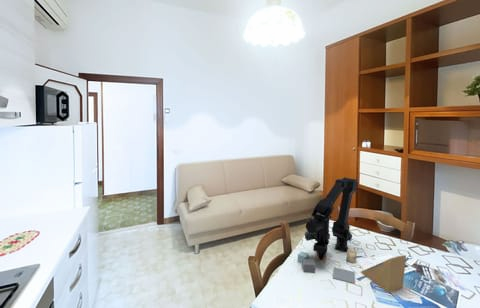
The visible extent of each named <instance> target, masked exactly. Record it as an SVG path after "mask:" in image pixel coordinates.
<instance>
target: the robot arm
mask: <svg viewBox="0 0 480 308" xmlns="http://www.w3.org/2000/svg"><path fill="white" fill-rule="evenodd" d="M358 187H359V181H358V180H357V179H356V178H352V177H343V178H337V179H336V180H335V182H334V184H333V186H332V187H331V189H330V190H329V192H328V193H327V195H326V196H325V197H324V198H321V199H320V200H319V201H318V202H317V203H316V204H315V206H314V209H313V210H312V211H313V212H312V213H311V218H309V221H307V222H306V224H305V229H306V231H305V233H304V239H305V240H306V241H313V240H314V241H315V242H314V244H313V247H312V250H313V252H316V251H317V252H318V255H319V259H320V260H322V259H323V257H324V255H325V253H326V254H327V253H328V248H329V247H328V246H329V243H330V238H331V233H330V220H331V219H332V218H333V217H332V216H331V215H332V214H333V212H334V210H335V208H334V205H335V203H336V202H337V200H338V198H339V196H340V195H341V194H342V195H341V201H340V205H339V212H338V217H337V219H336V220H335V221H333V223H332V227H331V231H332V237H335V238H336V242H335V246H334V250H336V251H341V252H343V251H344V252H347V250H349V245H348V242H349V241H350V242H351V240H352V238H353V234H352V232H350V224H349V222H348V221H349V213H350V208H351V203H352V198H353V195H354V194H355V193H356V192H357V189H358Z"/></svg>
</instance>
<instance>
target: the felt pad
mask: <svg viewBox="0 0 480 308" xmlns="http://www.w3.org/2000/svg"><path fill="white" fill-rule="evenodd" d="M332 272H333V273H332V279H333V280H337V281H341V282H346V283H349V284H353V285H356V276H355V275H356V272H355V271H352V270H348V269H344V268H343V269H342V268H339V267H333V271H332Z"/></svg>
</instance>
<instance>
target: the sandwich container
mask: <svg viewBox="0 0 480 308" xmlns="http://www.w3.org/2000/svg"><path fill="white" fill-rule="evenodd" d="M406 261H407V255H405V254H404V255H397V256H395V257H390V258H388V259H386V260H384V261H382V262H380V263H378V264H375V265H373V266H370V267H369V268H366V269H363V270H361V271H360V274H362V275H363V276H365V277H366V278H368V279H369V280H370V281H371V282H373V283H374V284H376V285H377V286H379V287H380V288H381V289H383V290H384V291H385V292H387V293H392V292H395V291H398V290H402V289H403V287H404V279H405V278H404V277H405V271H406V270H405V269H406Z"/></svg>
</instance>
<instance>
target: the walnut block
mask: <svg viewBox="0 0 480 308" xmlns="http://www.w3.org/2000/svg"><path fill="white" fill-rule="evenodd" d="M315 252H316V253H315V255H316V256H315V261H317V262H321V263H326V260H327V253H325V255H324V257H323V259H322V260H320V259H319V255H318V252H317V251H315Z"/></svg>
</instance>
